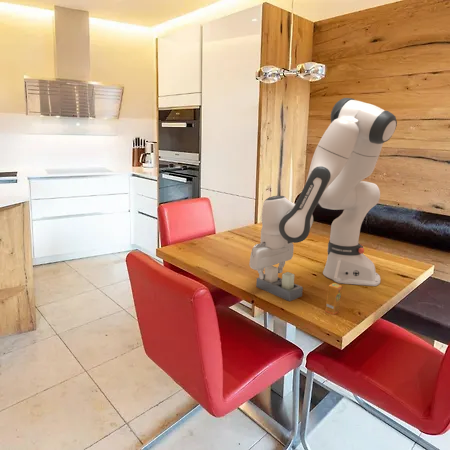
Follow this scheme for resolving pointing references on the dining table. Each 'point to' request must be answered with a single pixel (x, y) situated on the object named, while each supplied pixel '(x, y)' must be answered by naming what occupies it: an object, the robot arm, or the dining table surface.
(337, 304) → the supplement box
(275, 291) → the grey peg holder
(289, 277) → the beige peg
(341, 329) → the dining table surface
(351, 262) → the robot arm
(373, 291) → the dining table surface
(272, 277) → the block
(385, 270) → the dining table surface
